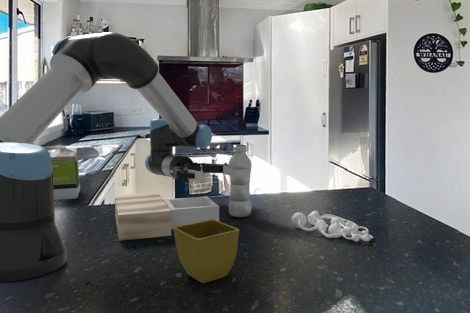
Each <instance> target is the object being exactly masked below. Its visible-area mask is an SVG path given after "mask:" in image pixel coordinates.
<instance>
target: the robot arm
mask: <svg viewBox="0 0 470 313" xmlns="http://www.w3.org/2000/svg"><path fill="white" fill-rule="evenodd" d="M51 53H52V56H51V58H50V61H49V70H47V71H46V72H45V74H43V75H42V76H41V77H40V78H38V80H37V81H36V82H35V83H34V84H33V85H32V86H31V87H30V88H29V89H27V91H26V92H25V93H23V94H22V95H21V96H20V97H19V99H17V101H16V102H14V103H13V104H12V105H11V106H10V107H9V108H8V109H7V110H6V111H5V112H4V113H3V114H1V116H0V282H1V283H2V282H3V283H4V282H5V283H6V282H16V281H24V280H29V279H34V278H38V277H41V276H45V275H47V274H50V273H52V272H55V271H57V270H58V269H60V268H61V267H63V266H65V264H66V263H67V261H68V260H67V259H68V257H67V248H66V246H65V243H64V241H63V239H62V237H61V234H60V232H59V229H58V227H57V225H56V219H55V200H54V190H53V166H52V163H51V156H50V153H51V152H50V151H49V150H48V149H47V148H45V147H44V146H41V145H37V144H34V143H35V142H36V140H37V139H38V138H39V137H40V136H41V135H42V134H43V133H44V132H45V131H46V130H47V129H48V127H49V126H50V125H51V124H52V123H53V122H54V120H55V119H56V118H57V117H58V116H60V114H61V113H62V112H63V111H64V109H66V107H67V106H68V105H69V104H70V103H71V102H72V101H73V99H75V97H76V96H77V95H78V94H79V93H80V94H84V93H85V94H86V93H87V92H89V91H90V90H91V89H92V88H93V87H94V86H95V85H96V83H97V82H99V81H100V80H113V79H115V80H119V81H122V82H124V83H125V84H127V86H128V87H129V88H130V89H132V90H137V91H138V92H139V94H140V95H141V96H142V97H143V98H144V99H145V101H146V102H147V103H148V104H149V105H150V106H151V107H152V108H153V110H154V111H156V113H157V114H158V115H159V116H160V118H153V119H151V120H149V121H150V122H149V139H150V142H149V143H150V150H149V151H150V152H149V154H148V155H147V156H146V158H145V161H144V165H145V168H146V171H148V172H149V173H151V174H154V175H156V176H164V177H170V178H172V180H177V181H181V180H183V181H182V182H183V183H184V182H185V183H186V182H188V180H190V181H195V182H200V183H204V182H205V174H223V175H225V176H226V175H227V176H230V173H229V163H227V162H224V163H223V164H222V163H208V162H207V163H206V162H202V163H201V162H200V163H199V162H197V161H196V162H194V161H193V160H192V159H191V158H190V157H188V156H184V155H179V154H178V155H177V154H173V153H174V152H173V151H174V150H173V149H174V148H190V149H191V148H192V149H206V148H208V147H209V146H210V145H211V143H212V140H213V133H212V129H211V127H210V126H209V125H207V124H199V123H198V122H197V121H196V119H195V118H194V117H193V115H192V114H191V113H190V111H189V110H188V108H187V107H186V106H185V105H184V103H183V102H182V100H180V98H179V97H178V95H177V94H176V93H175V92H174V90H173V89H172V88H171V87H170V85H169V84H168V83H167V81H166V80H165V79H164V77H163V76H162V75H161V73H160V72H159V71H160V70H159V69H160V67H159V64H158V63H157V62H156V61H155V59H154V58H153V56H151V54H150V53H149V52H148V51H147V50H145V48H143V47H142V46H141V45H140V44H139V43H137V42H136V41H135V40H133V39H131V38H130V37H127V36H126V35H123V34H121V33H118V32H111V31H108V32H107V31H106V32H100V33H91V34H82V35H81V34H74V35H69V36H67V37H66V36H65V37H64V38H61V39H59V40H58V41H57V42H56V44H55V45H54V46H53V49H52V51H51Z"/></svg>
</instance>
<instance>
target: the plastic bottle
mask: <svg viewBox="0 0 470 313" xmlns="http://www.w3.org/2000/svg"><path fill="white" fill-rule="evenodd" d="M232 148H233V150H232V152H233V155H232V156H231V157H230V159H229V161H228V164H229V173H230V175H229V178H230V179H229V180H230V190H229V191H230V192H229V200H228V213H229V215H230V216H231V217H234V218H235V217H236V218H245V217H248V216H250V214H251V213H252V209H253V208H252V201H251V192H250V183H251V172H252V166H253V165H252V160H251V159H250V157H249V156H248V154H247V152H248V149H247V144H233V147H232Z"/></svg>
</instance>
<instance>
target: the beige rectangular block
mask: <svg viewBox="0 0 470 313" xmlns="http://www.w3.org/2000/svg"><path fill="white" fill-rule="evenodd" d="M114 207H115V208H114V212H115V221H116V228H117V229H116V230H117V237H118V241H119V242H120V241H129V240H130V241H131V240H138V239H139V240H141V239H148V238H159V237H170V236H172V230H171V210H170V209H169V207H168V206H167V205H166V203H165V202H164V198H162V196H161V194H160V193H159V192H150V193H149V192H147V193H138V194H137V193H134V194H123V195H122V194H120V195H119V194H118V195H114Z"/></svg>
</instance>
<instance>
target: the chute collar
mask: <svg viewBox="0 0 470 313" xmlns="http://www.w3.org/2000/svg"><path fill="white" fill-rule="evenodd" d="M163 200H164V202H165V203H166V205H167V206H168V207H169V209H170V210H171V231H173V228H174V227H177V226H182V225H187V224H193V223H197V222H202V221H206V220H212V219H213V220H217V221H219V222H220V206H219V204H217V203H216V202H215V201H213V200H212V199H211V198H210V197H208V195H207V196H206V195H205V196H196V197H194V196H193V197H179V198H169V199H168V198H165V199H164V198H163Z"/></svg>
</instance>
